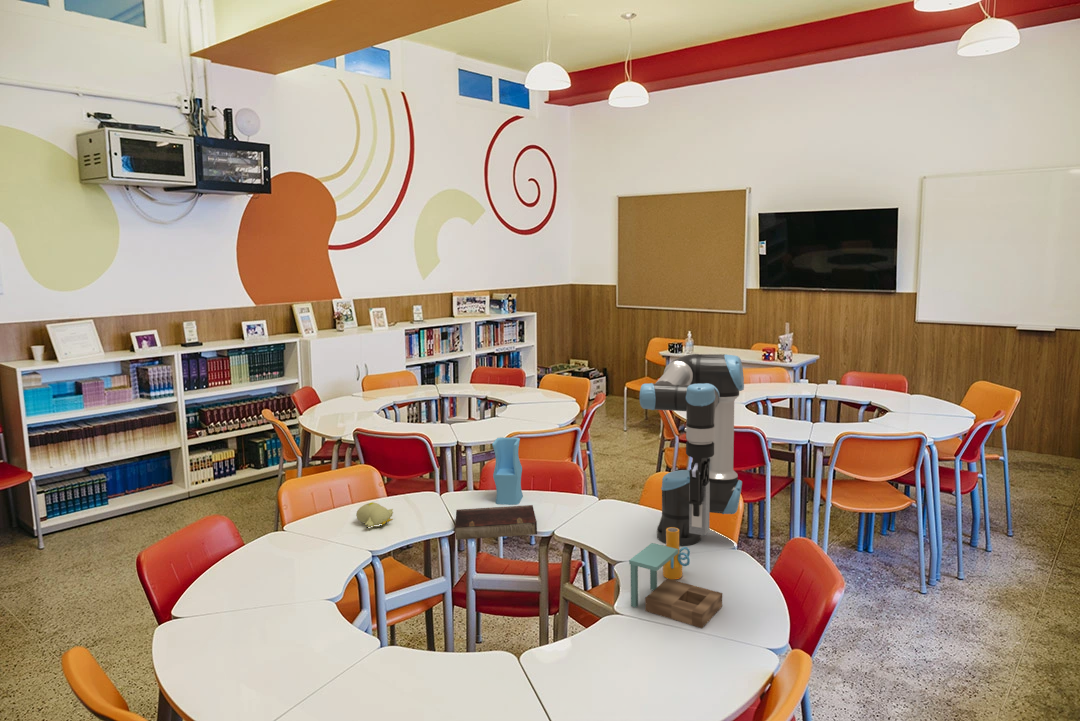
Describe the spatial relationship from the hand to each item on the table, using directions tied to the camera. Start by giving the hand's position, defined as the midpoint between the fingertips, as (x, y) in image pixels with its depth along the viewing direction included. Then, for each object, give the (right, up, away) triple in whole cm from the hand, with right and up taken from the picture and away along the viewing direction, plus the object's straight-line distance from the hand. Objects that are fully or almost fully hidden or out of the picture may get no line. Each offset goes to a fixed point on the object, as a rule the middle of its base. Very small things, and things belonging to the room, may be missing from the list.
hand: (699, 523), depth 200 cm
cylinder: (-3, -22, +25) cm, 33 cm away
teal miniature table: (-11, -24, +10) cm, 29 cm away
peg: (0, -2, 0) cm, 2 cm away
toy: (-107, -17, +74) cm, 131 cm away
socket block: (-3, -25, +4) cm, 26 cm away
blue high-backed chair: (-57, -12, +95) cm, 111 cm away
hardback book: (-60, -17, +67) cm, 92 cm away
